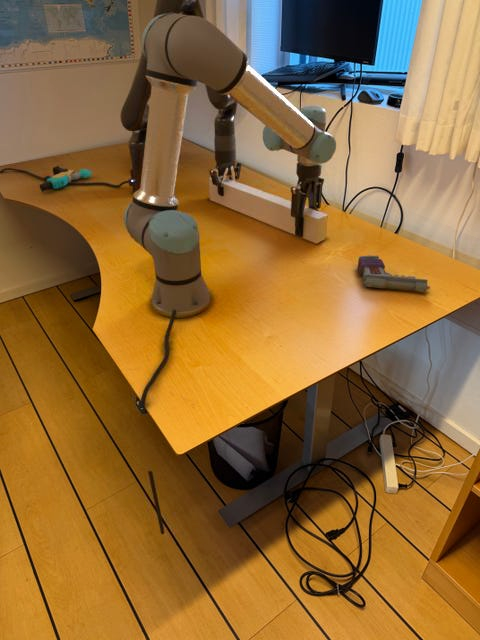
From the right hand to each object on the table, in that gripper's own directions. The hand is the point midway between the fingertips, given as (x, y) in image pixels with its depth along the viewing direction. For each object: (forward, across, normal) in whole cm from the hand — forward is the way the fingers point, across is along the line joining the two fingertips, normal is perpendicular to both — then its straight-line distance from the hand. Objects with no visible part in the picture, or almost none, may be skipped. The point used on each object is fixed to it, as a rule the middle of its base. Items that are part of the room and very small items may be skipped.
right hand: (304, 232), depth 157 cm
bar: (+1, 0, -19) cm, 19 cm away
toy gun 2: (+1, +5, +36) cm, 36 cm away
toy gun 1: (+1, +36, -104) cm, 110 cm away
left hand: (-3, 0, -38) cm, 38 cm away
